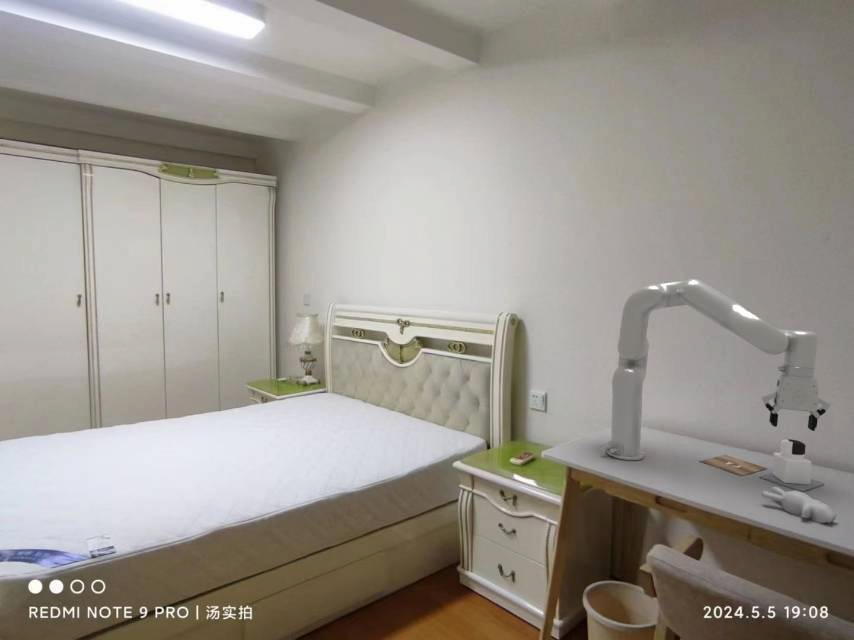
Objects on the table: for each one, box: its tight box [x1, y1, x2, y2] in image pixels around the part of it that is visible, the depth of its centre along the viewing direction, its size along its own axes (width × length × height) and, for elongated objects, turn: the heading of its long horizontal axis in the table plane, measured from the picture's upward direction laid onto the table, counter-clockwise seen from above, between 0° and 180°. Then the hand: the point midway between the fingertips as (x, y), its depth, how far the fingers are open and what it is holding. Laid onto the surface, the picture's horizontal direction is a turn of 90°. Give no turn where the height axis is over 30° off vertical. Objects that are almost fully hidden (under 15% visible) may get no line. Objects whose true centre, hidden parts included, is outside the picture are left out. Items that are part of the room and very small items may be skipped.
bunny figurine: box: [761, 486, 838, 524], centre depth 132 cm, size 10×5×15 cm
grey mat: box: [758, 472, 825, 493], centre depth 153 cm, size 12×12×1 cm
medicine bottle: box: [771, 438, 812, 485], centre depth 153 cm, size 7×7×12 cm
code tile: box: [699, 454, 768, 477], centre depth 166 cm, size 14×14×1 cm
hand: (792, 427), depth 152 cm, fingers open, 9 cm apart
